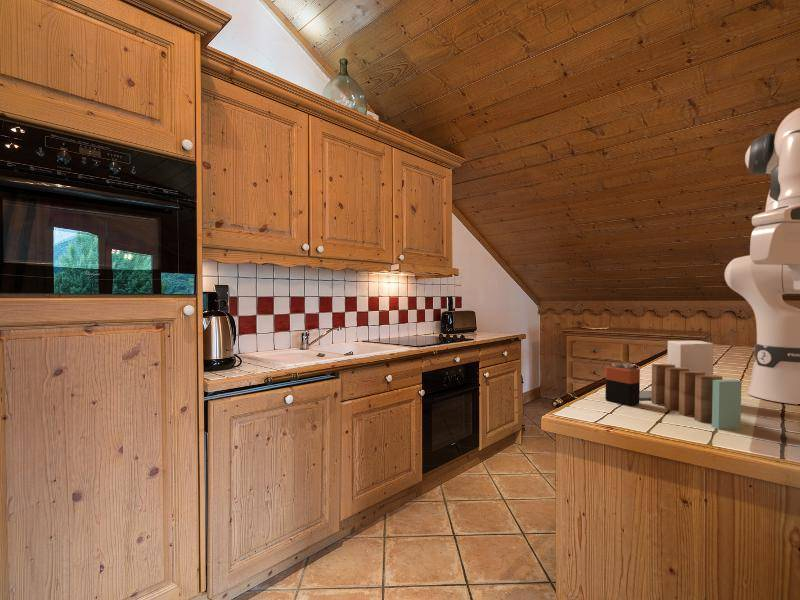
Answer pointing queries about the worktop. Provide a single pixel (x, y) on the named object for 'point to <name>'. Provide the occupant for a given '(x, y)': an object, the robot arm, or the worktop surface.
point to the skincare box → (691, 355)
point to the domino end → (726, 404)
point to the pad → (645, 395)
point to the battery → (622, 384)
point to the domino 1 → (659, 382)
